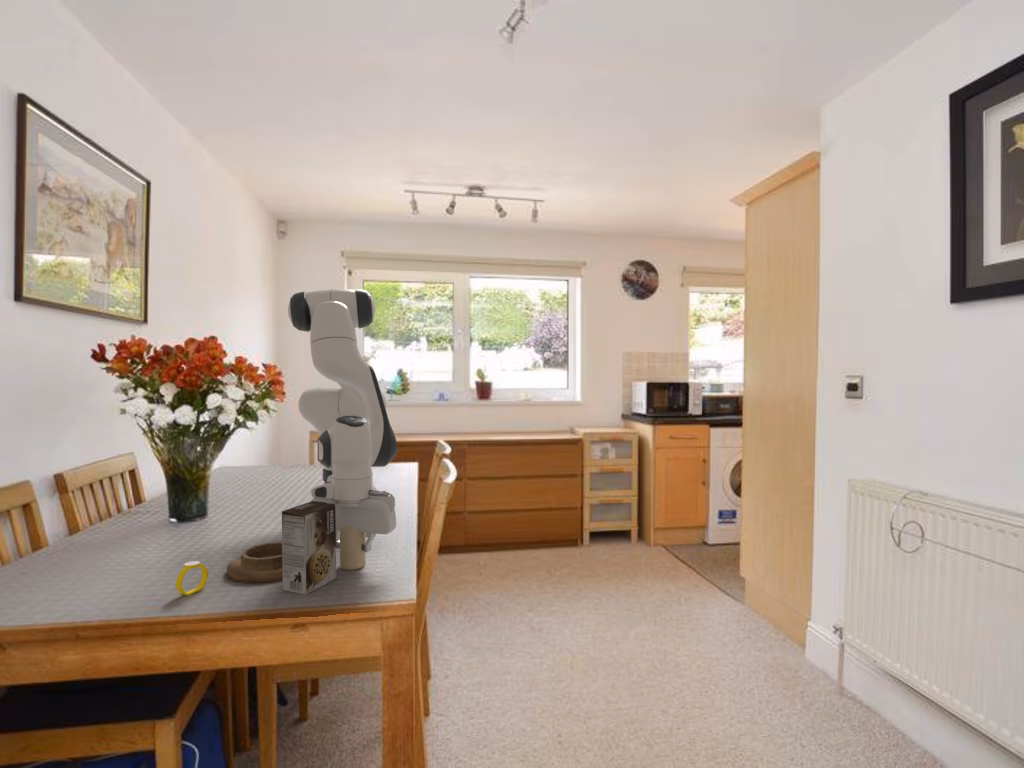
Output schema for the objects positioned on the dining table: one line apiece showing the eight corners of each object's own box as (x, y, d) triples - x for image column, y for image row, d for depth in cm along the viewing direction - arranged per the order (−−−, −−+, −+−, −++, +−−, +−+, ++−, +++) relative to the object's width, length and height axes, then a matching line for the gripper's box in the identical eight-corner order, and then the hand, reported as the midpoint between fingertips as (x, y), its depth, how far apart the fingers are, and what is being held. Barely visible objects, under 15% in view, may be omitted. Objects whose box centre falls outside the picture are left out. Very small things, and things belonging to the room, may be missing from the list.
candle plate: (264, 552, 129) (263, 535, 129) (326, 558, 125) (325, 541, 125) (207, 578, 113) (207, 559, 113) (277, 587, 109) (276, 567, 109)
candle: (358, 571, 117) (357, 525, 117) (335, 569, 118) (335, 524, 118) (369, 562, 123) (369, 519, 122) (347, 560, 124) (347, 517, 124)
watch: (199, 587, 109) (201, 558, 109) (209, 589, 108) (211, 559, 108) (172, 597, 103) (173, 565, 104) (182, 599, 103) (184, 567, 103)
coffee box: (313, 574, 115) (312, 500, 115) (337, 578, 113) (337, 503, 113) (280, 590, 107) (280, 510, 107) (306, 595, 105) (305, 513, 104)
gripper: (401, 488, 121) (401, 549, 121) (321, 483, 126) (321, 541, 126) (387, 494, 114) (388, 558, 115) (304, 489, 120) (305, 550, 120)
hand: (352, 549), depth 121 cm, fingers closed on candle, 5 cm apart
